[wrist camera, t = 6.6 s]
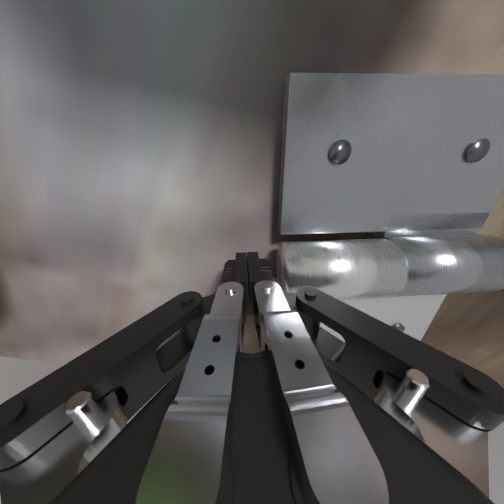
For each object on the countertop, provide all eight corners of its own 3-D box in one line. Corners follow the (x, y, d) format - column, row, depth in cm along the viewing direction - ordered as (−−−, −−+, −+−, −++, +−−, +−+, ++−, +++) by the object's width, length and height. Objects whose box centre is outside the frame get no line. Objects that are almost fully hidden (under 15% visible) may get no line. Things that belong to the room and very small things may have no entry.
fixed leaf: (541, 84, 10) (705, 40, 7) (444, 271, 16) (506, 304, 12) (284, 83, 10) (311, 32, 6) (274, 279, 15) (285, 316, 11)
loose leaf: (462, 227, 14) (541, 249, 10) (405, 340, 19) (443, 381, 15) (277, 233, 13) (291, 259, 9) (271, 348, 18) (279, 393, 15)
